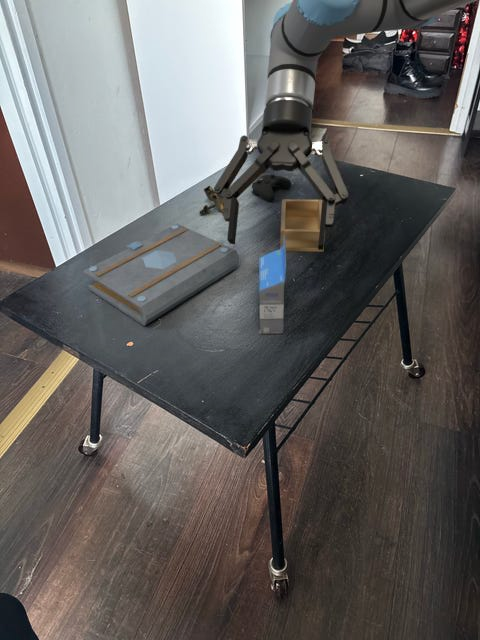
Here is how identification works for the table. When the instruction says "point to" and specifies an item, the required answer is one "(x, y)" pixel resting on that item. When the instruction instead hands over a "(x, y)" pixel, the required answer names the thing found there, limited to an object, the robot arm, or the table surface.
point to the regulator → (213, 198)
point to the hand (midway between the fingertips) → (275, 244)
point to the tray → (301, 224)
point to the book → (161, 272)
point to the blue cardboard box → (272, 291)
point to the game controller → (269, 186)
